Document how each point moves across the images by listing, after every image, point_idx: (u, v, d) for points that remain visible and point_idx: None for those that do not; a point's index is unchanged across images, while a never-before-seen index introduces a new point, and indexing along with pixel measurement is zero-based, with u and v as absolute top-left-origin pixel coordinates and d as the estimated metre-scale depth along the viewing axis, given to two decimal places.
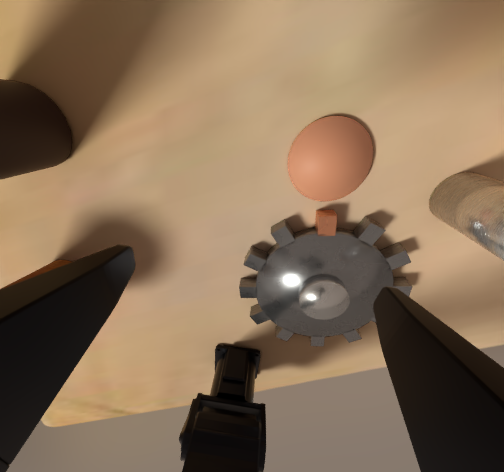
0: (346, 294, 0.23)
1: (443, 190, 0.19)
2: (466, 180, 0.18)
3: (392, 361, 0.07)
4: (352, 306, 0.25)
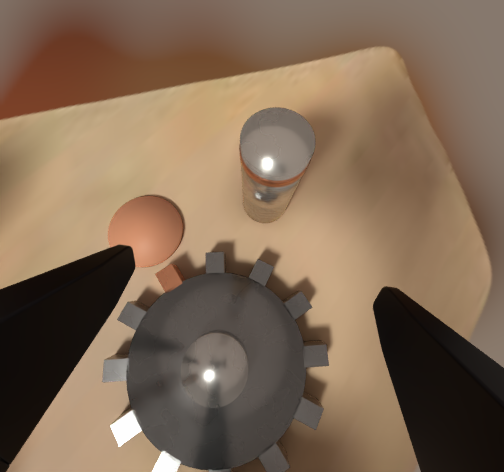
0: (230, 339, 0.17)
1: None
2: None
3: (392, 361, 0.07)
4: (267, 360, 0.18)
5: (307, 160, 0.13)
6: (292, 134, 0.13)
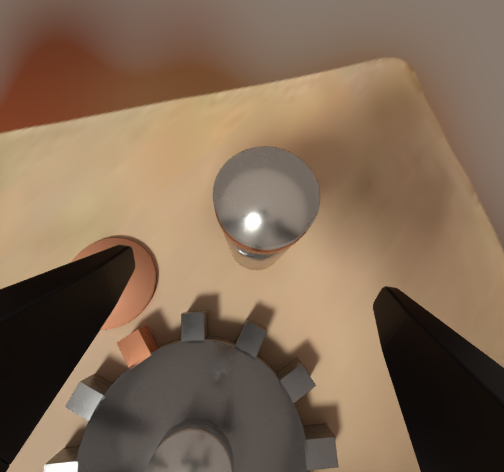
0: (209, 441, 0.13)
1: None
2: None
3: (392, 361, 0.07)
4: (258, 460, 0.14)
5: (309, 224, 0.09)
6: (287, 185, 0.09)
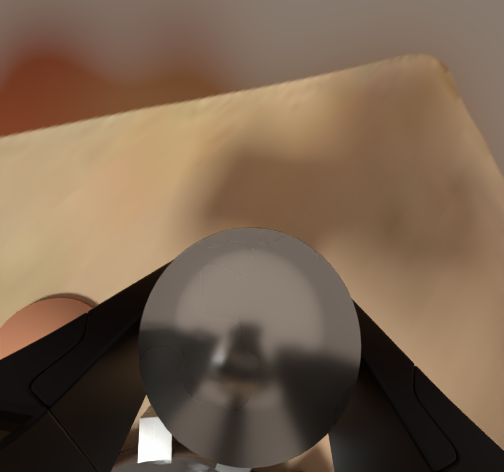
0: None
1: None
2: None
3: None
4: None
5: (340, 410, 0.04)
6: (293, 314, 0.05)
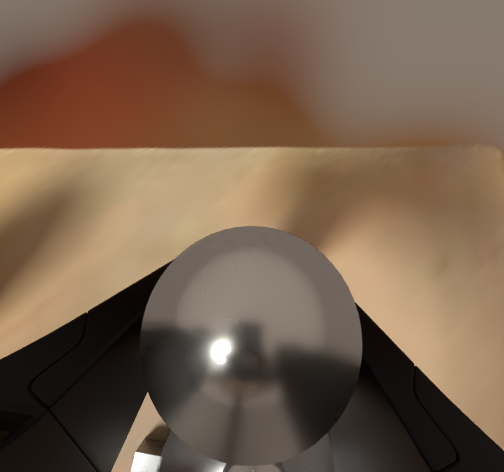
0: None
1: None
2: None
3: None
4: None
5: (341, 408, 0.04)
6: (294, 313, 0.05)
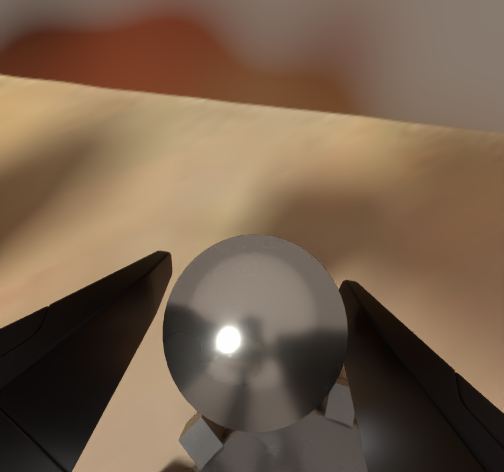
0: None
1: None
2: None
3: (347, 354, 0.07)
4: None
5: (330, 385, 0.05)
6: (292, 307, 0.06)
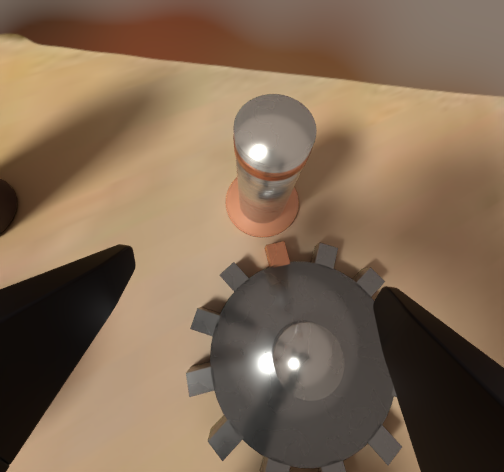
0: (332, 336, 0.16)
1: None
2: None
3: (392, 361, 0.07)
4: (355, 372, 0.17)
5: (308, 150, 0.12)
6: (291, 122, 0.12)
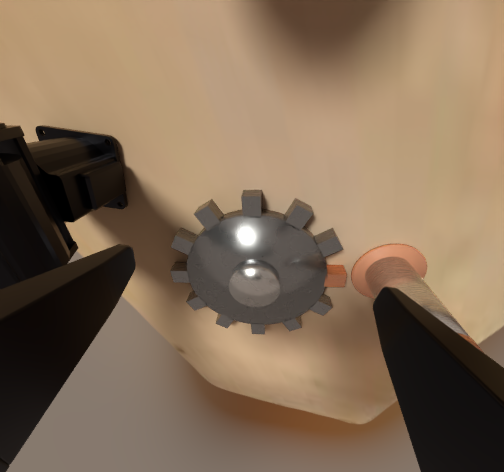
0: (265, 304, 0.23)
1: (400, 262, 0.21)
2: None
3: (392, 361, 0.07)
4: (238, 301, 0.25)
5: None
6: None
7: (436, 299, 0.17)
